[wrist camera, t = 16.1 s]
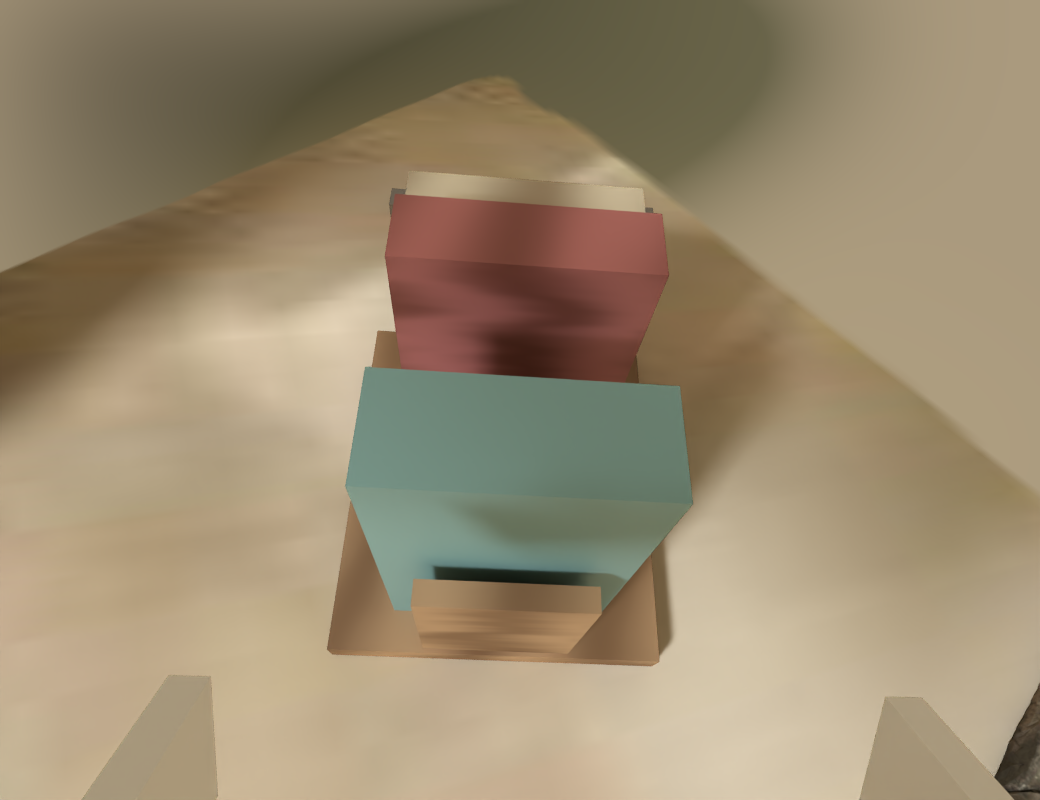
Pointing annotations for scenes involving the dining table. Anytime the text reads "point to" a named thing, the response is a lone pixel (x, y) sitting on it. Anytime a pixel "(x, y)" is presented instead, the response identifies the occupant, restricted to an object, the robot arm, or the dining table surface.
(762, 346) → the dining table surface
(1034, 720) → the stone slab
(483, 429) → the book
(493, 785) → the dining table surface
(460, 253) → the book rack
